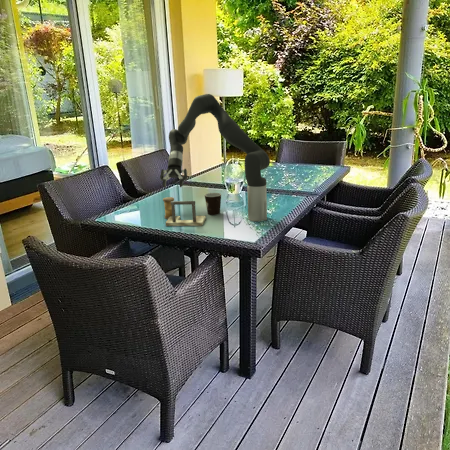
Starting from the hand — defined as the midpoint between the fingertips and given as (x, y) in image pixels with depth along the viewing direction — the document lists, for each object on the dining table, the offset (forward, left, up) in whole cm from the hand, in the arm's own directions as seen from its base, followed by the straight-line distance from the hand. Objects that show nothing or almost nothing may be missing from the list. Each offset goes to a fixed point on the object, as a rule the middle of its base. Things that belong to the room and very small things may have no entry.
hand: (172, 186), depth 232 cm
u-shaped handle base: (-10, +19, -14) cm, 25 cm away
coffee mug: (-22, +6, -14) cm, 27 cm away
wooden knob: (0, +11, -14) cm, 17 cm away
